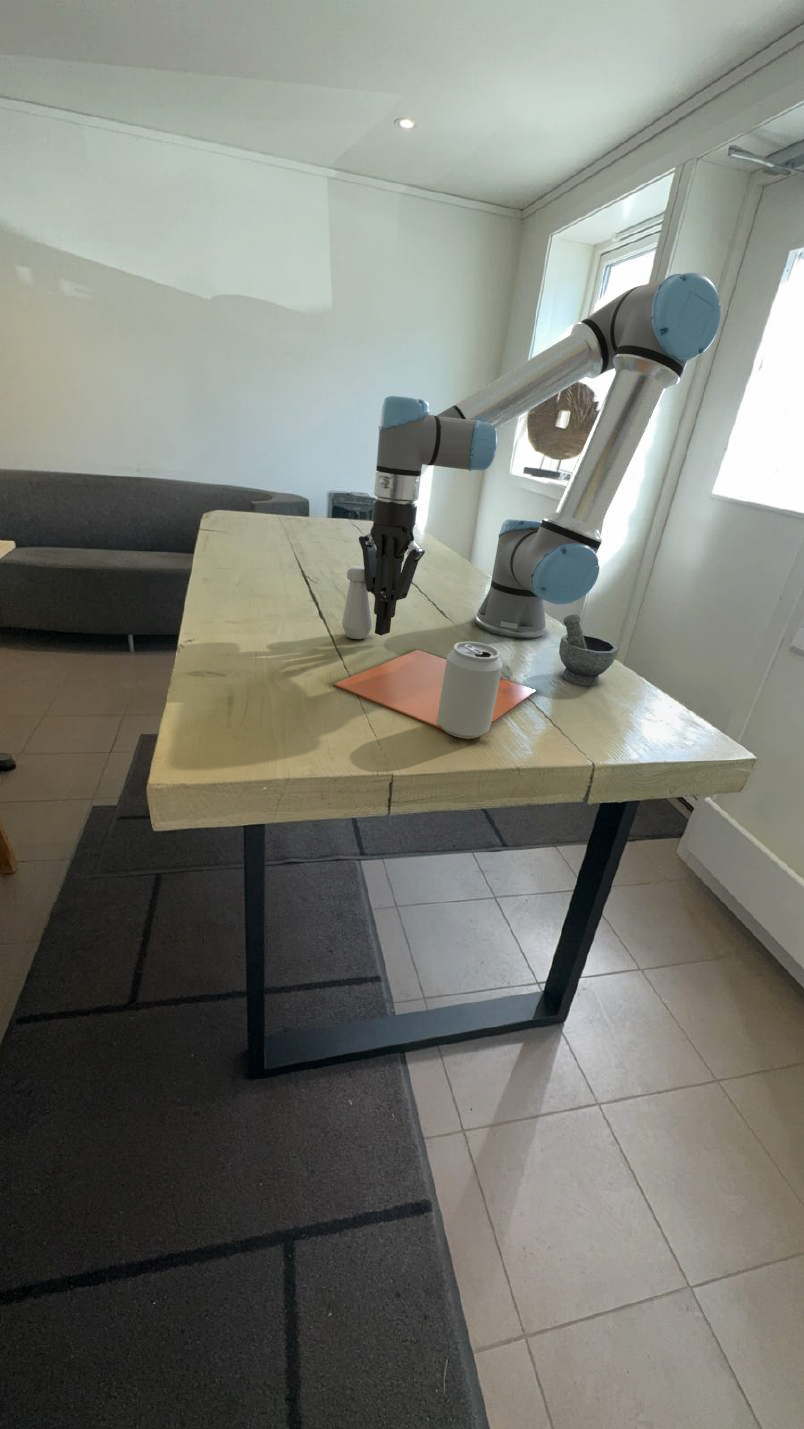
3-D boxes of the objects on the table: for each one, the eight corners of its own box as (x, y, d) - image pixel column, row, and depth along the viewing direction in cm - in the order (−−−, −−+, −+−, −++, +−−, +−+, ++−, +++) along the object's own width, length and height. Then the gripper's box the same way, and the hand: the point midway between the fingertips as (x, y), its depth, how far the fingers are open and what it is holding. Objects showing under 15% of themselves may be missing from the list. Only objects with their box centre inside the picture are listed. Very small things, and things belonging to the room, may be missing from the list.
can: (474, 747, 78) (491, 663, 73) (426, 728, 81) (438, 647, 76) (497, 728, 84) (513, 649, 79) (451, 711, 87) (464, 634, 82)
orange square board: (417, 651, 110) (417, 649, 110) (535, 691, 99) (536, 690, 99) (333, 685, 92) (333, 683, 91) (467, 740, 80) (467, 738, 80)
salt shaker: (369, 641, 110) (371, 570, 105) (339, 638, 110) (340, 568, 106) (374, 634, 115) (376, 566, 111) (345, 631, 116) (346, 564, 111)
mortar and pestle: (587, 668, 112) (603, 607, 107) (618, 688, 105) (637, 623, 99) (536, 669, 109) (551, 606, 103) (565, 690, 101) (582, 623, 96)
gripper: (351, 494, 100) (342, 627, 110) (414, 507, 93) (398, 647, 104) (378, 493, 105) (367, 620, 116) (439, 505, 99) (422, 638, 110)
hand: (382, 632), depth 110 cm, fingers closed
